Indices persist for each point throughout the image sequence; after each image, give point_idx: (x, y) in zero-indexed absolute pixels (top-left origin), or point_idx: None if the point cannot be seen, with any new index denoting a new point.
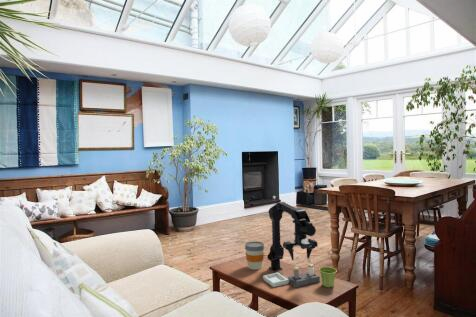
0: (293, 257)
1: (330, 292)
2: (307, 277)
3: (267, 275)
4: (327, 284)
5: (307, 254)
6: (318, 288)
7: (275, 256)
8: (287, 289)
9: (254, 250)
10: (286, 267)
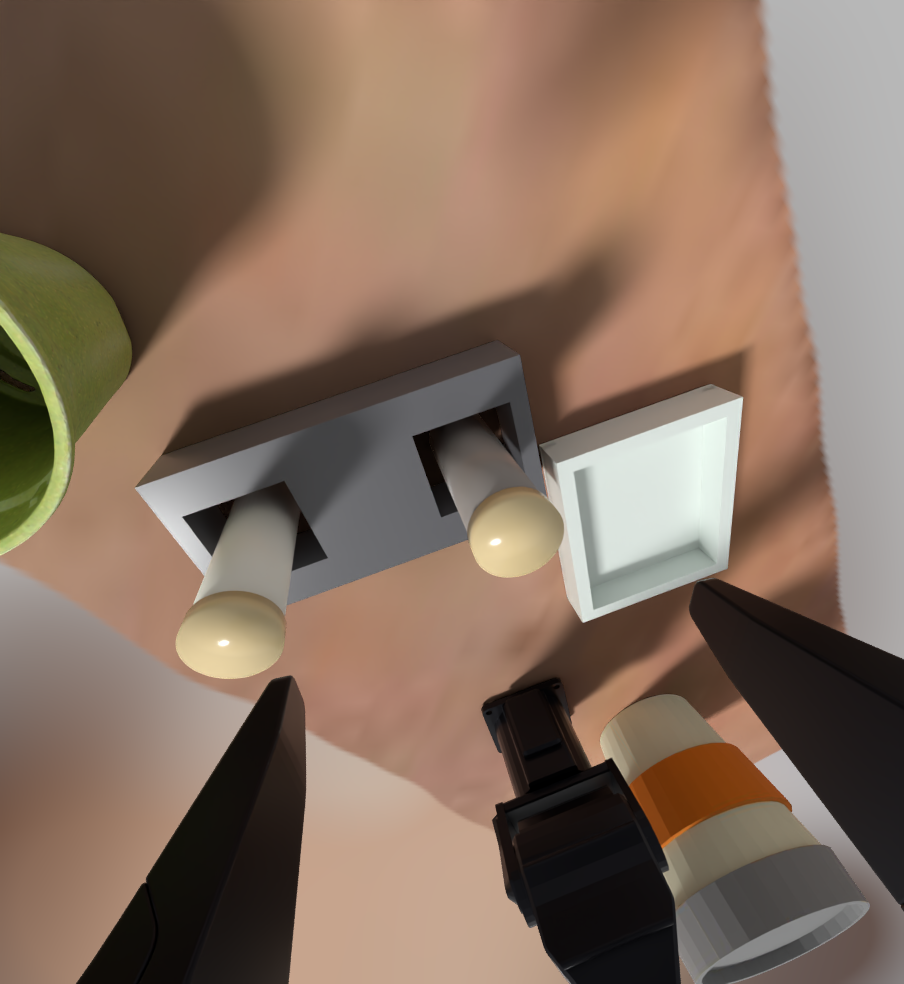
0: (773, 626)
1: (4, 18)
2: (326, 471)
3: (687, 571)
4: (23, 243)
5: (287, 820)
6: (213, 247)
7: (615, 806)
8: (611, 300)
9: (806, 857)
10: (434, 736)
